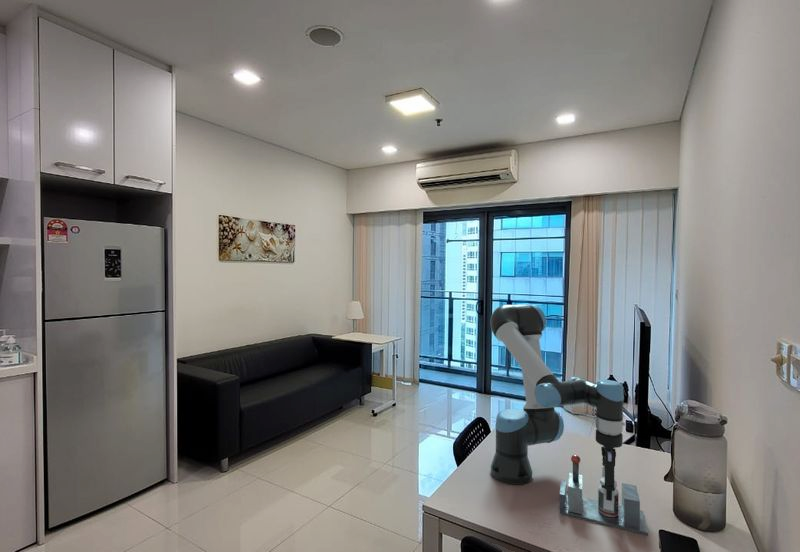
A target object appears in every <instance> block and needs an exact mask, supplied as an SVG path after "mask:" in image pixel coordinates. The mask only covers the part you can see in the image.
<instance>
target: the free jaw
mask: <svg viewBox="0 0 800 552" xmlns="http://www.w3.org/2000/svg"><path fill="white" fill-rule="evenodd" d="M570 460H571V462H572V472H569V473H568V485H567V486H568V487H567V489H568V491H567V494H568V511H570V512H574V513H578V514H582V498H583V474H579V473H580V471H579V469H580V465H579V464H580V463H581V458H580V456H579V455H577V454H573V455H572V456H571V458H570Z"/></svg>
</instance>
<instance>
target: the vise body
mask: <svg viewBox="0 0 800 552" xmlns="http://www.w3.org/2000/svg"><path fill="white" fill-rule="evenodd" d="M560 480H561V481H560V489H559V509H558V510H559V511H558V512H559V515H562V516H566V517H570V518H575V519H579V520H583V521H587V522H590V523H591V522H592V523H596V524H600V525H604V526H606V527H607V526H608V527H612V528H616V529H620V530H625V531H628V532H633V533H636V534H641V535H644V536H649V531H648V527H647V523H646V518H645V514H644V511H643V510H641V501H640V496H639V492H638V488H637V485H634V484H629V483H624V482H622V483H621V505H618V516H616V517H608V516H605V515H603V514H602V513H600V512H599V510H598V500H595V499H591V498H586V497H582V514H578V513H574V512H570V511H568V493H567V480H565V479H560Z"/></svg>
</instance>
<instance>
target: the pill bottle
mask: <svg viewBox="0 0 800 552" xmlns="http://www.w3.org/2000/svg"><path fill="white" fill-rule="evenodd" d="M599 483H600V485H599V486H598V489H597V495H598V496H597V501H598V510H599V512H600V513H602V514H603V515H605V516H608V517H616V516H618V506H619V490H618V488H617V487H618V485H617V484H618V483H617V480H615V479H614V488H615V491H614V511H611V510H606V509H604V508H603V505H604V488H602V485H605V477H603V478H602V477H601V478H600V479H599Z"/></svg>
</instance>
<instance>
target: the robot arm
mask: <svg viewBox="0 0 800 552" xmlns="http://www.w3.org/2000/svg"><path fill="white" fill-rule="evenodd" d="M489 320H490V321H489V324H490V329H491V331H492V334H493V336H495V338H496V339H497V340H498V341H499V342H502V343H503V344H504V346H505V347H506V349H507V350H508V351H509V353H510V354H511V356H512V357H513V358H514V360H515V361H516V362H517V364H518V365H519V366H520V368H521V375H522V382H523V388H524V394H525V395H524V396H525V401H526V402H525V404H524V405H523V409H519V408H508V409H507V408H506V409H504V410H500V411H499V412H498V413H497V415H496V420H495V453H494V456H493V458H492V462H491V464H490V474H491V476H492V477H493V478H494V479H496V480H497V481H499V482H502V483H504V484H505V483H506V484H509V485H525V484H528V483H530V482H531V481H532V480H533V469H532V466H531V462H530V459H529V457H528V456H529V455H528V452H529V451H528V449H529V448H528V447H529V446H534V445H540V444H550V443H552V442H556V441H558V440H560V439H561V437H562V436H563V434H564V430H565V429H564V428H565V425H564V419H563V417H562V415H561V413H560V412H559V411H558V410H556V409H555V408H557V407H564V406H571V405H574V406H575V405H580V404H585V405H588V406H590V407H594V408H596V409H595V428H596V429H595V441H596V443H597V444H599V445H601V449H600V451H601V456H602V459H601V461H602V462H601V463H602V464H601V465H602V467H601V469H602V470H601V471H602V472H601V473H602V474H601V475H602V476H601V478H603V477H605V485H602V488H604V505H603V508H604V509H606V510H611V511H614V491H615V488H614V480H615V466H616V458H617V452H616V449H617V448H621V447H622V446H623V442H624V441H623V430H624V429H623V426H626V423H625V422H624V401H625V396H624V394H625V393H624V386H623V384H622V383H621V382H618V381H616V380H610V379H598V381H597V382H593V381H591V380H588V379H586V378H583V377H577V376H571V377H570V378H569V379H567V381H565V380H564V381H560V380H559V379H558V378H557V376H556V375H554V373H553V372H552V371H551V370H550V369H549V367H548V365H547V364H546V363H545V362H544V361H543V357H542V349H541V344H540V339H541V338H542V336H543V333H542V332H543V331H544V330H545V329H546V326H547V318H546V314H545V312H544V311H543V309H542V308H540V307H539V306H537V305H536V304H527V303H526V304H525V303H524V304H523V303H522V304H503V305H500V306H498V307H497V308H496V309H494V311H493V312H492V314H491V317H490V319H489Z"/></svg>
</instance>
